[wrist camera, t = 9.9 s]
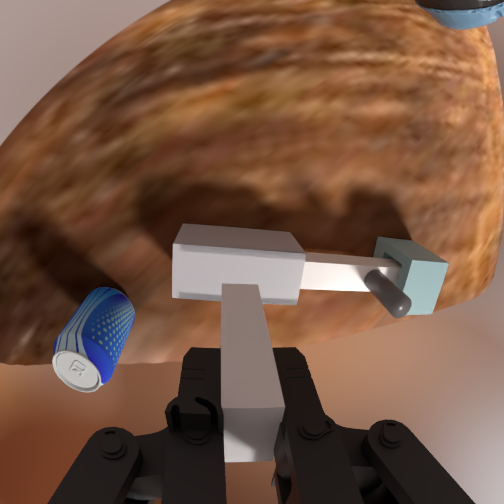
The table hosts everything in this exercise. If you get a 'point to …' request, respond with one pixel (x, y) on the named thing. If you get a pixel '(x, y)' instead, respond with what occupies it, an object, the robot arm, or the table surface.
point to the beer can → (93, 340)
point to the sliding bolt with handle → (357, 278)
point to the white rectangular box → (236, 262)
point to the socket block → (415, 272)
